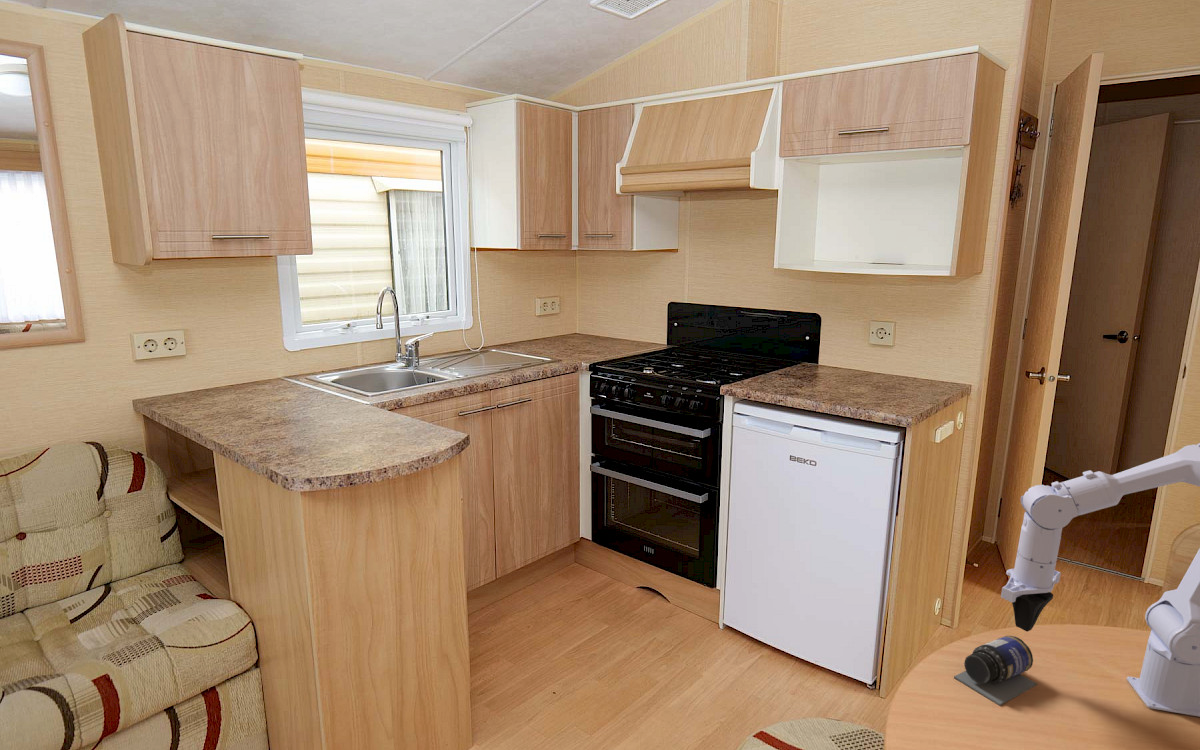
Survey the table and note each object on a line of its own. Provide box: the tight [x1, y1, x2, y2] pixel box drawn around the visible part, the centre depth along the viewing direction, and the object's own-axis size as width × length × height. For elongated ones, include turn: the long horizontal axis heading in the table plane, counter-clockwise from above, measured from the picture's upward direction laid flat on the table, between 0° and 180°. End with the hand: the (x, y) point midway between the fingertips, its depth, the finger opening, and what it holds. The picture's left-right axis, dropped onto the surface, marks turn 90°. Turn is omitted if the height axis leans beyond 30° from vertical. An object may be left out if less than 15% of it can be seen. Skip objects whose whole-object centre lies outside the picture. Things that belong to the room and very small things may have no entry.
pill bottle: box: [963, 635, 1034, 684], centre depth 120 cm, size 6×6×11 cm
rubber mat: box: [953, 670, 1038, 707], centre depth 120 cm, size 11×8×1 cm
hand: (1023, 627), depth 121 cm, fingers closed
